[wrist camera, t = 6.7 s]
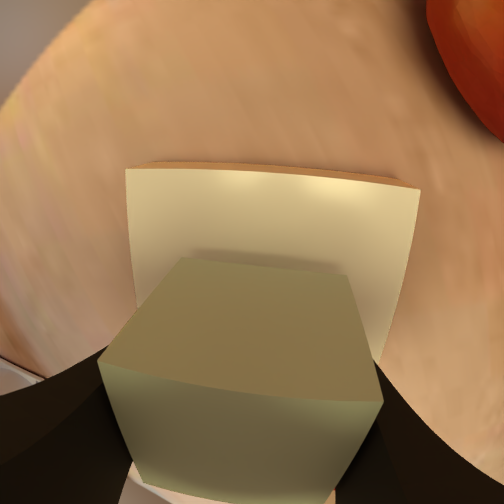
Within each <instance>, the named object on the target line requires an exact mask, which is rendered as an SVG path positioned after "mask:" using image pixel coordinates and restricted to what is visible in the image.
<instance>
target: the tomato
mask: <svg viewBox="0 0 504 504" xmlns="http://www.w3.org/2000/svg"><path fill="white" fill-rule="evenodd" d="M426 17H427V21H428V25H429V28H430V30H431V33H432V35H433V38H434V40H435V43H436V46H437V49H438V51H439V53H440V55H441V57H442V60H443V62H444V64H445V66H446V68H447V71H448V73H449V75H450V77H451V78H452V80H453V82H454V84H455V85H456V87H457V89H458V90H459V92H460V93H461V95H462V96H463V98H464V99H465V101H466V102H467V103H468V104H469V106H470V107H471V108H472V110H473V111H474V112H475V114H476V115H477V116H478V118H479V119H480V120H481V122H482V123H483V124H484V125H485V126H486V127H487V128H488V130H490V131H491V132H492V133H493V134H494V135H495V136H496V137H497V138H498V139H499V140H500V141H501V142H503V143H504V0H426Z"/></svg>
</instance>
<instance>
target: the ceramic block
mask: <svg viewBox="0 0 504 504" xmlns="http://www.w3.org/2000/svg"><path fill="white" fill-rule="evenodd" d="M125 175H126V200H127V217H128V231H129V243H130V253H131V263H132V272H133V280H134V288H135V296H136V303H137V310H138V308H139V307H140V306H141V305H142V304H143V302H144V301H145V300H146V299H147V298H148V296H149V295H150V294H151V293H152V291H153V290H154V289H155V288H156V287H157V286H158V284H159V283H160V282H161V281H162V280H163V278H164V277H165V276H166V275H167V274H168V272H169V271H170V270H171V269H172V268H173V267H174V265H175V264H176V263H177V262H178V261H179V260H180V258H181V257H184V258H193V259H201V260H210V261H219V262H228V263H237V264H246V265H255V266H264V267H273V268H283V269H292V270H302V271H311V272H321V273H331V274H340V275H347V277H348V280H349V283H350V286H351V289H352V292H353V295H354V298H355V301H356V305H357V308H358V311H359V314H360V317H361V321H362V324H363V327H364V331H365V334H366V337H367V341H368V344H369V348H370V351H371V355H372V358H373V360H374V361H375V362H376V364H377V365H378V363H379V361H380V358H381V355H382V352H383V349H384V346H385V343H386V340H387V336H388V333H389V330H390V327H391V323H392V320H393V317H394V313H395V310H396V306H397V302H398V299H399V295H400V291H401V287H402V283H403V279H404V275H405V271H406V267H407V262H408V258H409V253H410V248H411V244H412V239H413V233H414V228H415V223H416V217H417V211H418V205H419V198H420V192H421V190H420V189H418V188H416V187H414V186H412V185H410V184H407V183H405V182H403V181H401V180H399V179H395V178H389V177H382V176H374V175H367V174H359V173H351V172H342V171H333V170H324V169H313V168H302V167H290V166H277V165H262V164H244V163H219V162H151V163H147V164H143V165H139V166H135V167H131V168H127V169H125Z"/></svg>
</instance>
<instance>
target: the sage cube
mask: <svg viewBox="0 0 504 504" xmlns="http://www.w3.org/2000/svg"><path fill="white" fill-rule="evenodd" d="M97 362H98V366H99V369H100V372H101V376H102V379H103V382H104V385H105V388H106V391H107V394H108V397H109V400H110V403H111V406H112V409H113V412H114V414H115V417H116V420H117V422H118V425H119V428H120V430H121V433H122V435H123V438H124V440H125V443H126V445H127V447H128V450H129V452H130V454H131V457H132V459H133V461H134V463H135V466H136V468H137V470H138V472H139V474H140V476H141V478H142V481H143V483H146V484H149V485H153V486H156V487H160V488H163V489H167V490H171V491H174V492H178V493H183V494H187V495H191V496H196V497H200V498H205V499H210V500H216V501H222V502H228V503H234V504H324V503H325V501H326V500H327V499H328V497H329V496H330V494H331V493H332V491H333V490H334V488H335V487H336V485H337V484H338V482H339V481H340V479H341V478H342V476H343V474H344V473H345V471H346V470H347V468H348V466H349V465H350V463H351V461H352V460H353V458H354V456H355V455H356V453H357V451H358V450H359V448H360V446H361V444H362V443H363V441H364V439H365V437H366V435H367V434H368V432H369V430H370V428H371V426H372V424H373V422H374V420H375V418H376V416H377V414H378V412H379V410H380V408H381V406H382V404H383V402H384V400H383V396H382V392H381V388H380V384H379V380H378V377H377V373H376V369H375V365H374V362H373V358H372V355H371V351H370V348H369V344H368V341H367V337H366V334H365V331H364V327H363V324H362V321H361V317H360V314H359V311H358V308H357V305H356V301H355V298H354V295H353V292H352V289H351V286H350V283H349V280H348V277H347V275H340V274H331V273H321V272H311V271H302V270H292V269H283V268H273V267H264V266H255V265H246V264H237V263H228V262H219V261H210V260H201V259H193V258H184V257H181V258H180V260H179V261H178V262H177V263H176V264H175V265H174V267H173V268H172V269H171V270H170V271H169V272H168V274H167V275H166V276H165V277H164V278H163V280H162V281H161V282H160V283H159V284H158V286H157V287H156V288H155V289H154V290H153V291H152V293H151V294H150V295H149V296H148V298H147V299H146V300H145V301H144V302H143V304H142V305H141V306H140V307H139V308H138V310H137V311H136V312H135V313H134V315H133V316H132V317H131V318H130V320H129V321H128V322H127V323H126V324H125V326H124V327H123V328H122V329H121V331H120V332H119V333H118V334H117V336H116V337H115V338H114V340H113V341H112V342H111V343H110V345H109V346H108V347H107V348H106V350H105V351H104V352H103V354H102V355H101V356H100V357H99V359H98V360H97Z"/></svg>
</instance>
